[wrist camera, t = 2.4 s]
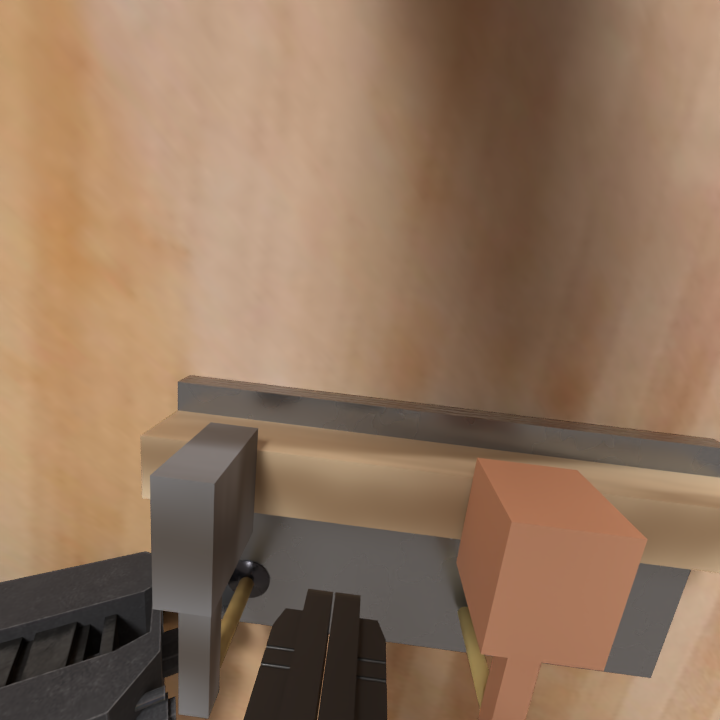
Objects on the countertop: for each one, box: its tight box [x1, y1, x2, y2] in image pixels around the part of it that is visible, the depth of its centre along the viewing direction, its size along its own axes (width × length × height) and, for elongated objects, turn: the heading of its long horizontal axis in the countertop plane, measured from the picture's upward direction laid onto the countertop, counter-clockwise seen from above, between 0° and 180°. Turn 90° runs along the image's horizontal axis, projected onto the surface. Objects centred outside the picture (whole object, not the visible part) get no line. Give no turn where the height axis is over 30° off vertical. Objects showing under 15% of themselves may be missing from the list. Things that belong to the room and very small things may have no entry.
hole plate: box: [178, 375, 720, 678], centre depth 20 cm, size 14×27×1 cm, turn 84°
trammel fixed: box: [141, 410, 720, 718], centre depth 16 cm, size 11×27×7 cm, turn 84°
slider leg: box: [456, 458, 648, 720], centre depth 16 cm, size 11×4×7 cm, turn 174°
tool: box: [0, 552, 179, 720], centre depth 18 cm, size 6×19×15 cm, turn 85°
